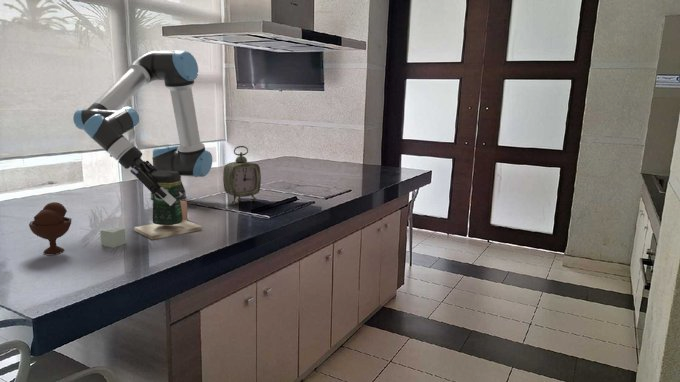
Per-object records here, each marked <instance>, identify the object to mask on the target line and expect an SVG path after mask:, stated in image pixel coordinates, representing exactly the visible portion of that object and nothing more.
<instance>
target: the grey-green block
mask: <svg viewBox="0 0 680 382" xmlns="http://www.w3.org/2000/svg"><path fill="white" fill-rule="evenodd" d="M99 233H100V242H101V246H102V245H104V246H103V247H107V246H108V247H107V248H111V247H114V248H117V247H119V246H123V245H125V244H127V239H126V237H127V236H126V228H125V227H118V226H110V227H107V228H103V229H101V230H100V232H99ZM116 246H117V247H116Z"/></svg>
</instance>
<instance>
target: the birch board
mask: <svg viewBox="0 0 680 382" xmlns="http://www.w3.org/2000/svg"><path fill="white" fill-rule="evenodd" d="M133 229H134V231H135V232H136V233H138V234H140V235H142V236H144V237H146V238H148V239H150V240H151V241H152V240H157V239H162V238H168V237H172V236H177V235H182V234H183V235H184V234H187V233H193V232H197V231H203V228H202V226H201V225H198V224H196V223H194V222H192V221H189V220H185V219H183V220H182V222H181V223H179V224H174V225H158V224H154V223H150V224H145V225H140V226H134V227H133Z"/></svg>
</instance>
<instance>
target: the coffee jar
mask: <svg viewBox="0 0 680 382" xmlns="http://www.w3.org/2000/svg"><path fill="white" fill-rule="evenodd" d="M151 176H152V177H153V178H154V180H155V181H156V182H157V183H158V185H159V186H160V188H161V187H163V188H164V189H165V190H166V191H167V192H168V193H169V194H170V195H172V196H173V197H174V198H175V199H176V201H175V202H174V203H173V204H172V205H171V206H170V205H169V204H168V203H167V202H165V201H164V200H163V199H162V198H161V197H160V196H159V195H158V194H157V193H156V192H155V193H154V194H153V199H152V224H158V225H174V224H179V223H181V222H182V220H183V216H182V209H181V203H180V200H181V199H180V194H179V187H180V184H181V181H182V178H181V179H180V174H179V172H178V171H167V170H158V171H154V172H152V173H151Z"/></svg>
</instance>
